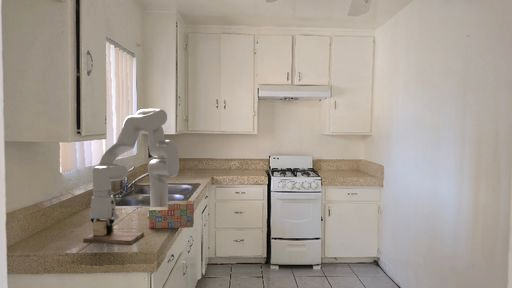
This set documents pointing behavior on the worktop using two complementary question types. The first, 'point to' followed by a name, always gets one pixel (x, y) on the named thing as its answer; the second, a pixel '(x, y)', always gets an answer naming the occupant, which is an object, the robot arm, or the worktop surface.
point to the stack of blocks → (172, 215)
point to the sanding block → (100, 228)
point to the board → (115, 237)
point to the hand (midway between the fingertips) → (103, 232)
